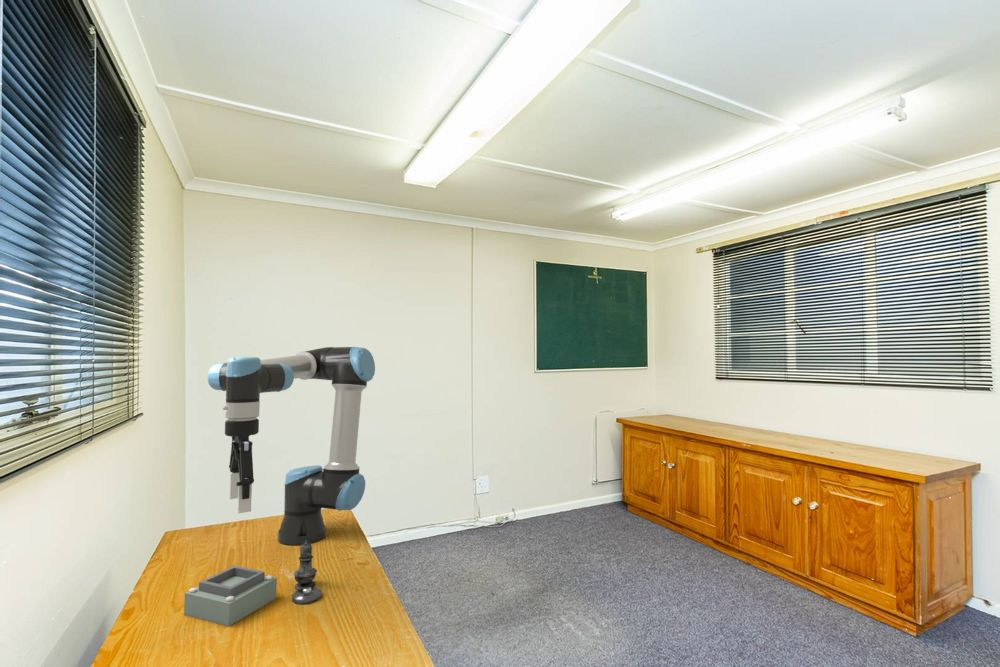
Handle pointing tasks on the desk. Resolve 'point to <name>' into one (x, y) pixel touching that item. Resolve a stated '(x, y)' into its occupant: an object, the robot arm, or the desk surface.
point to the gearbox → (230, 595)
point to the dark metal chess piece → (305, 568)
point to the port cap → (306, 595)
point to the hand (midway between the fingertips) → (239, 504)
